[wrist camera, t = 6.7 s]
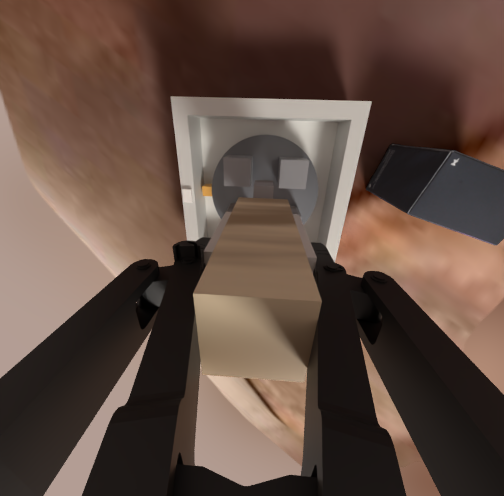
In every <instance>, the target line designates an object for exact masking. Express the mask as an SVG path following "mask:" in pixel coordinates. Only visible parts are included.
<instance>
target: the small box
mask: <svg viewBox="0 0 504 496" xmlns="http://www.w3.org/2000/svg"><path fill="white" fill-rule="evenodd" d="M366 190H368V191H369V192H371V193H373V194H374V195H376V196H378V197H379V198H381V199H383V200H384V201H386V202H388V203H390V204H391V205H393V206H395V207H396V208H398V209H400V210H402V211H403V212H405V213H407V214H409V215H411V216H414V217H417V218H420V219H422V220H425V221H428V222H431V223H433V224H436V225H439V226H442V227H444V228H447V229H450V230H453V231H456V232H459V233H461V234H464V235H467V236H470V237H473V238H475V239H478V240H481V241H484V242H487V243H490V244H493V245H498V244H499V243H500V242H501V241H502V240H503V239H504V170H503V169H500V168H498V167H495V166H492V165H490V164H487V163H485V162H482V161H480V160H478V159H475V158H473V157H470V156H467V155H465V154H462V153H460V152H457V151H455V150H446V149H438V148H427V147H414V146H405V145H399V144H391V145H390V147H389V148H388V150H387V152H386V154H385V155H384V158H383V159H382V161H381V163H380V165H379V166H378V168H377V170H376V172H375V173H374V175H373V176H372V178H371V180H370V182H369V184H368V186H367V188H366Z"/></svg>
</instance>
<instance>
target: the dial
mask: <svg viewBox="0 0 504 496" xmlns="http://www.w3.org/2000/svg"><path fill="white" fill-rule="evenodd" d="M255 180H266V181H273V184H274V191H273V199H288V202H289V205H290V206H295V207H296V210H297V212H298V215H299V216H300V218H301V221H302V223H303V225H304V224H305V223H306V221H307V220H308V219H309V217H310V216H311V214H312V212H313V210H314V207H315V205H316V201H317V197H318V179H317V174H316V171H315V168H314V166H313V164H312V161H311V160H310V158H309V157H308V155H307V154H306V153H305V152H304V151H303V150H302V149H301V148H300V147H299V146H298V145H296V144H295V143H293V142H292V141H290V140H288V139H285V138H283V137H279V136H275V135H257V136H252V137H249V138H246V139H243V140H242V141H240V142H238V143H236V144H235V145H233V146H232V147H231V148H230V149H229V150H228V151H227V152H226V153H225V154H224V155H223V157H222V158H221V159H220V161H219V163H218V165H217V167H216V169H215V172H214V176H213V180H212V184H204V185H203V186H202V192H203V196H212V198H213V202H214V206H215V208H216V211H217V213H218V215H219V217H220V218H221V219H222V218H223V216H224V214H225V212H227V210H228V208H229V206H230V204H231V203H236V202H237V200H238V198H239V197H243V198H253V192H254V183H255Z"/></svg>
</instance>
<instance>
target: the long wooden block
mask: <svg viewBox="0 0 504 496" xmlns="http://www.w3.org/2000/svg"><path fill="white" fill-rule="evenodd" d="M273 191H274V184H273V181H266V180H255V183H254V192H253V198H243V197H239V198H238V200H237V202H236V203H231V204H230V206H229V208H228V210H227V212H231V215H230V217H229V219H228V221H227V223H226V225H225V227H224V229H223V231H222V233H221V236H220V238H219V240H218V242H217V244H216V246H215V248H214V250H213V252H212V255H211V257H210V259H209V261H208V263H207V265H206V267H205V269H204V271H203V273H202V276H201V278H200V280H199V282H198V284H197V286H196V288H195V290H194V292H193V298H194V307H195V315H196V324H197V333H198V342H199V351H200V359H201V368H202V375H214V376H227V377H239V378H252V379H265V380H278V381H291V382H305V377H306V373H307V368H308V363H309V358H310V354H311V349H312V345H313V340H314V335H315V331H316V326H317V322H318V317H319V313H320V308H321V304H322V300H321V297H320V294H319V291H318V288H317V285H316V282H315V279H314V276H313V273H312V270H311V267H310V264H309V261H308V258H307V255H306V252H305V249H304V246H303V243H302V240H301V237H300V235H299V232H298V229H297V226H296V223H295V220H294V217H293V215H298V212H297V210H296V207H295V206H290V205H289V202H288V199H273Z"/></svg>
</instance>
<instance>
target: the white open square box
mask: <svg viewBox="0 0 504 496" xmlns="http://www.w3.org/2000/svg"><path fill="white" fill-rule="evenodd" d="M371 103H372V101H341V100H300V99H259V98H218V97H177V96H171V105H172V114H173V122H174V131H175V140H176V148H177V157H178V166H179V174H180V183H181V192H182V200H183V209H184V217H185V226H186V235H187V241H188V240H189V241H197V240H198V239H200V238H202V237H207V238H211V237H212V236H213V234H214V232H215V230H216V228H217V227H218V225H219V223H220V221H221V218H220V217H219V215H218V213H217V211H216V208H215V206H214V202H213V198H212V196H203V192H202V186H203V185H204V184H212V180H213V176H214V172H215V169H216V167H217V165H218V163H219V161H220V159H221V158H222V157H223V155H224V154H225V153H226V152H227V151H228V150H229V149H230V148H231V147H232V146H233V145H235V144H236V143H238V142H240V141H242V140H243V139H246V138H249V137H252V136H257V135H275V136H279V137H283V138H285V139H288V140H290V141H292V142H293V143H295V144H296V145H298V146H299V147H300V148H301V149H302V150H303V151H304V152H305V153H306V154H307V155H308V157H309V158H310V160H311V161H312V164H313V166H314V168H315V171H316V174H317V179H318V197H317V201H316V205H315V207H314V210H313V212H312V214H311V216H310V217H309V219H308V220H307V221H306V223H305V224H304V228H305V230H306V233H307V235H308V237H309V240H310V242H316V243H322V244H323V245H325V246H326V247H327V249H328V251H329V253H330V255H331V257H332V259H333V260H334V262H335V259H336V255H337V251H338V246H339V242H340V238H341V233H342V229H343V225H344V220H345V216H346V212H347V207H348V203H349V199H350V194H351V190H352V185H353V181H354V177H355V172H356V168H357V164H358V159H359V155H360V151H361V146H362V142H363V138H364V133H365V129H366V125H367V120H368V116H369V112H370V107H371Z"/></svg>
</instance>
